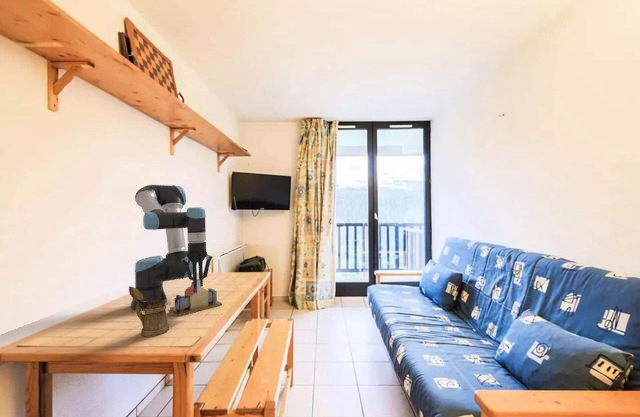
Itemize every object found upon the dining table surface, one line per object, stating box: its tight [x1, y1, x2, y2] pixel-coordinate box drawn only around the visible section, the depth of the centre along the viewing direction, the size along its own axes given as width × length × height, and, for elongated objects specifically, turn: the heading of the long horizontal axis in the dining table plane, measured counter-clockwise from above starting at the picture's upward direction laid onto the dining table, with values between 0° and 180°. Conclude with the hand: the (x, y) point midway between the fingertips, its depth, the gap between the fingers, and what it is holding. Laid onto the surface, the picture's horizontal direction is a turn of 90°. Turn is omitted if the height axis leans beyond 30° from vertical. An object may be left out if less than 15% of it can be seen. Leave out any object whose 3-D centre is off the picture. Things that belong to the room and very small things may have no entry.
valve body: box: [169, 286, 223, 317], centre depth 132 cm, size 12×20×10 cm, turn 134°
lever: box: [184, 281, 196, 296], centre depth 126 cm, size 16×4×2 cm, turn 13°
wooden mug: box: [128, 286, 170, 338], centre depth 106 cm, size 9×14×18 cm, turn 102°
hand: (198, 294), depth 124 cm, fingers closed
